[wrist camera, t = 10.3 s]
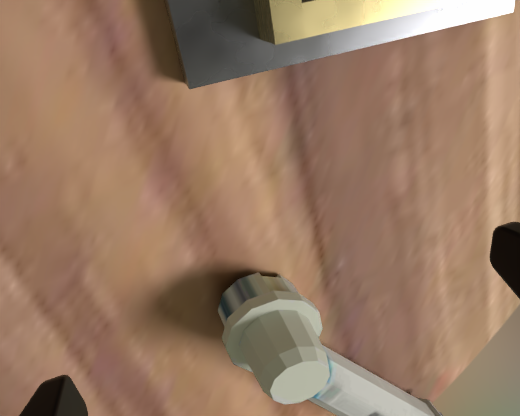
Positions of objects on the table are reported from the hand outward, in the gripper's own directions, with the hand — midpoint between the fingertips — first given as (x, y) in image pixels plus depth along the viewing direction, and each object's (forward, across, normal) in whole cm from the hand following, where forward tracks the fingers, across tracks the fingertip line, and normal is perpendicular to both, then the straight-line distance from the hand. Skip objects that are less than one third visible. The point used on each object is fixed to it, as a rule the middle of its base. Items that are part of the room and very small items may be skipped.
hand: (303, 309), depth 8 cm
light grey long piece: (+14, -6, +20) cm, 25 cm away
